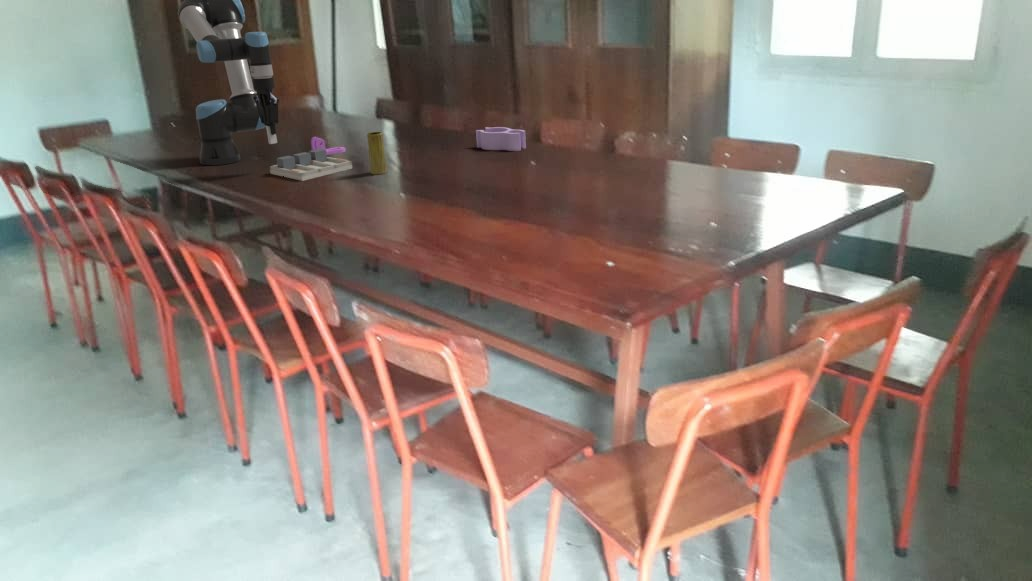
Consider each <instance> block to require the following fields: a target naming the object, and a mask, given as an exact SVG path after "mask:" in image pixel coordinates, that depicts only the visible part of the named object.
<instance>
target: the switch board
mask: <svg viewBox="0 0 1032 581" xmlns="http://www.w3.org/2000/svg"><path fill="white" fill-rule="evenodd" d="M311 161H312V164H310V165H305V166H304V165H299V164H296V168H293V169H284V168H279V167H278V165H277V164H273V165H270V166H269V172H270V174H271V175H275V176H279V177H283V176H284V177H283V178H288V179H293V180H297V181H301V182H302V181H303V182H304V181H307V180H312V179H316V178H320V177H324V176H327V175H332V174H335V173H340V172H344V171H347V170H351V169H353V162H352V161H351V160H348V159H345V158H344V159H343V158H340V157H339V158H335V157H330V156H327V161H322V162H318V161H316V160H311Z"/></svg>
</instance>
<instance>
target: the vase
mask: <svg viewBox="0 0 1032 581" xmlns="http://www.w3.org/2000/svg"><path fill="white" fill-rule="evenodd" d="M366 135H367V145H368V158H369V167H370V168H369V169H370V170H369V172H370V174H371V175H385V174H387V172H388V168H387V161H386V160H387V159H386V154H385V146H384V136H383V132H382V131H372V132H367V134H366Z"/></svg>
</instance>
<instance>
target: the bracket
mask: <svg viewBox="0 0 1032 581" xmlns="http://www.w3.org/2000/svg"><path fill="white" fill-rule="evenodd" d="M310 147H311V151H312V150H316V149H324V150H326V154H327V156H330V155H334V154H339V153H345V152H346V147H344V146H335V147H330V148H326V141H325V140H324V139H323V138H320V137H318V136H313V137H311V139H310Z"/></svg>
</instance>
